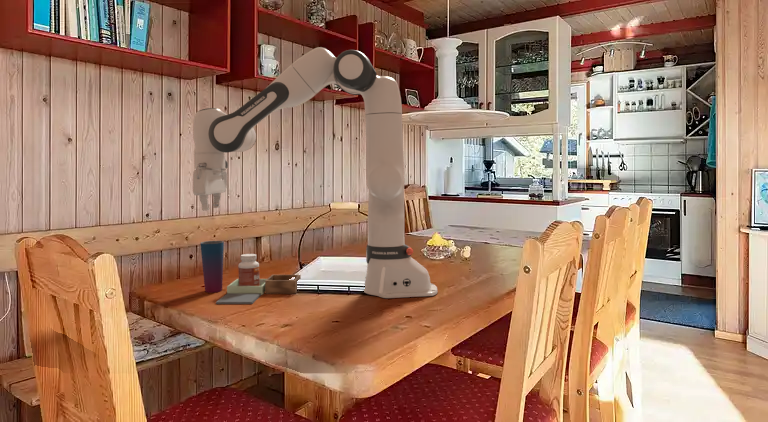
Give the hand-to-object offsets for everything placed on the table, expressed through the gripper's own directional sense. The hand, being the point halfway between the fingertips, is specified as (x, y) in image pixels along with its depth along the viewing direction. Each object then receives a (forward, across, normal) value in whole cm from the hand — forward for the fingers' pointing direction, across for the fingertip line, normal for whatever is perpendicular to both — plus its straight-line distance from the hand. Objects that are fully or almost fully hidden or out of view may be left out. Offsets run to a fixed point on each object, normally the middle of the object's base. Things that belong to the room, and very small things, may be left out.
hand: (211, 209), depth 162 cm
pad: (+25, -11, -11) cm, 30 cm away
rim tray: (+25, 0, -11) cm, 27 cm away
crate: (+25, 0, -21) cm, 33 cm away
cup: (+25, 0, 0) cm, 25 cm away
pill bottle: (+25, 0, -11) cm, 28 cm away
